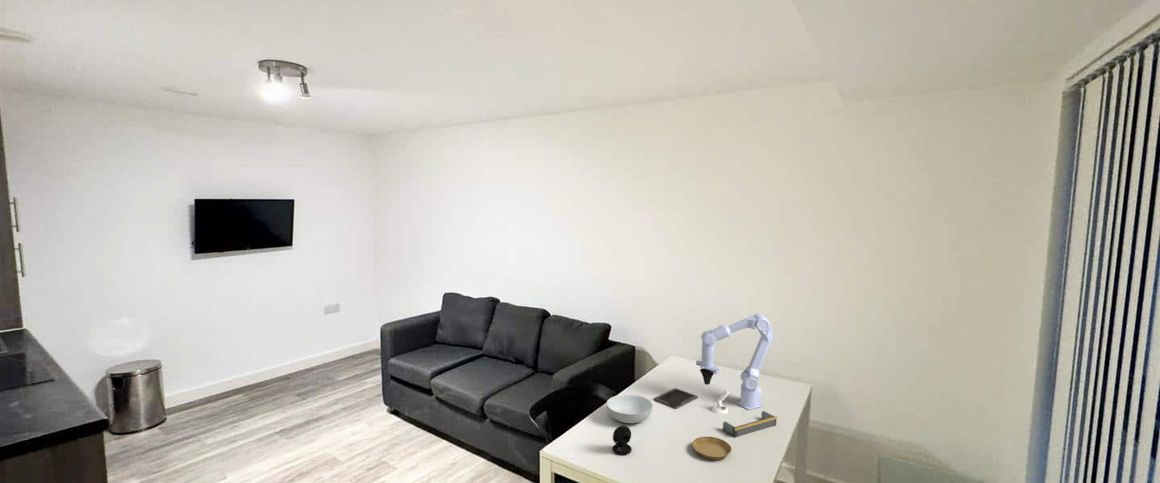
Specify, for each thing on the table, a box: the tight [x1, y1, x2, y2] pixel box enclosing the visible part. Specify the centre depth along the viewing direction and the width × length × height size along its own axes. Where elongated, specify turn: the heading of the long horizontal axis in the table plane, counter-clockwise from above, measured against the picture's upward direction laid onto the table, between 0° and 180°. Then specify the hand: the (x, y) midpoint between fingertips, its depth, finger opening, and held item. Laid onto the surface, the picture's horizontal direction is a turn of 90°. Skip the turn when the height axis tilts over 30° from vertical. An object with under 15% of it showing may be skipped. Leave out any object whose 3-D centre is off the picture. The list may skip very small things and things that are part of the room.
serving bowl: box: [605, 394, 654, 424], centre depth 208 cm, size 21×21×7 cm
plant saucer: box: [692, 436, 732, 461], centre depth 180 cm, size 15×15×3 cm
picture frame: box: [653, 387, 699, 410], centre depth 228 cm, size 13×2×18 cm
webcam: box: [611, 425, 633, 456], centre depth 181 cm, size 8×8×10 cm
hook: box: [710, 389, 730, 415], centre depth 215 cm, size 8×12×7 cm
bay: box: [722, 410, 778, 438], centre depth 199 cm, size 24×7×4 cm, turn 116°
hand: (707, 383), depth 223 cm, fingers closed
